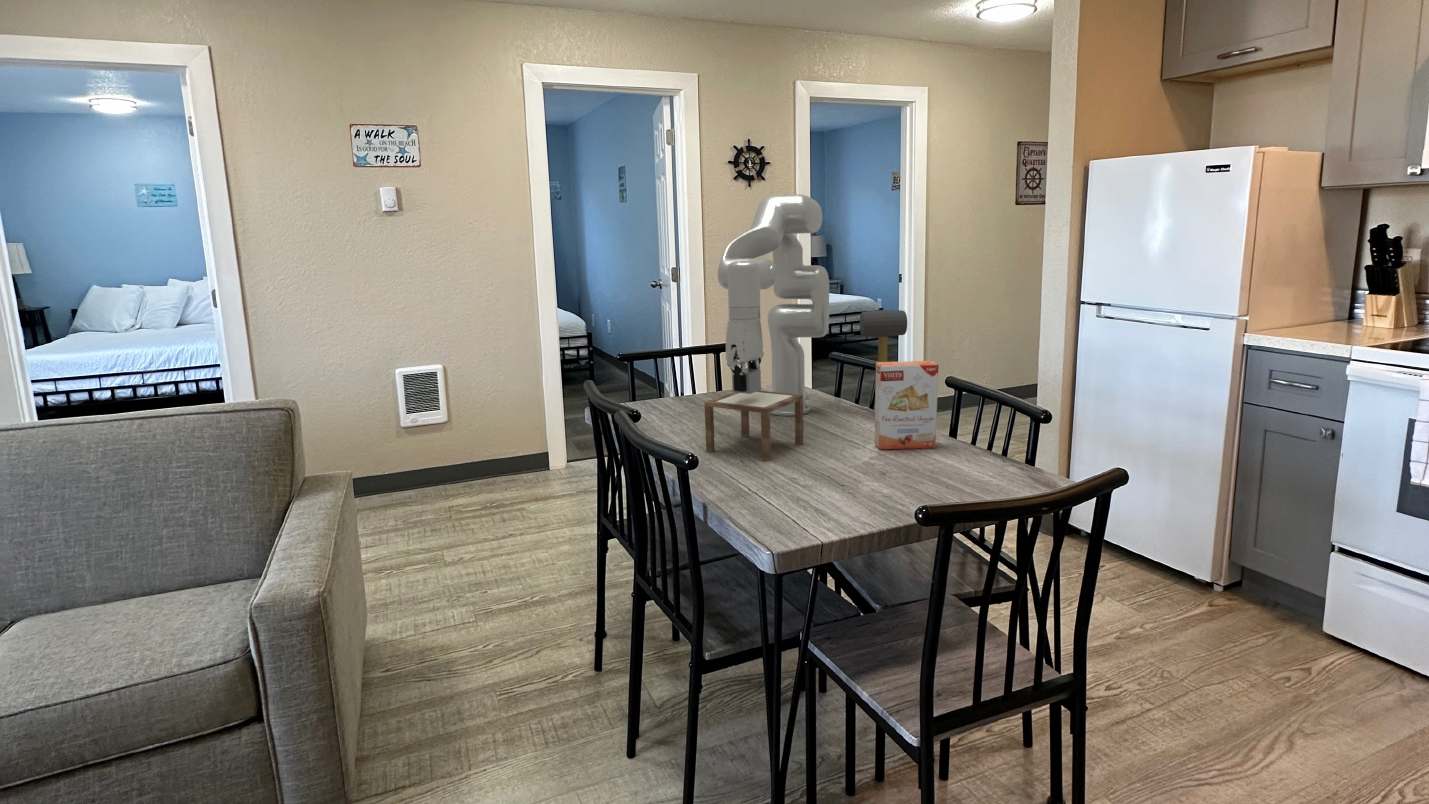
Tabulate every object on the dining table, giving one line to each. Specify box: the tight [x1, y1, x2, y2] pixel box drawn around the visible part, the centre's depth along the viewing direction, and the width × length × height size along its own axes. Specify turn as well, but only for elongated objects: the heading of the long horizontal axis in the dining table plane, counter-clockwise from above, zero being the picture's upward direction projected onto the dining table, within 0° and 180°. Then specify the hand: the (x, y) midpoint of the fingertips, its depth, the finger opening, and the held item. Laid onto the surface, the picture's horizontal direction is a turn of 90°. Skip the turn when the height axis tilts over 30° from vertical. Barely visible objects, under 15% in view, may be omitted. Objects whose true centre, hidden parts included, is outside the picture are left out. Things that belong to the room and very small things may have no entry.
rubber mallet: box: [859, 309, 908, 362], centre depth 228 cm, size 12×8×30 cm, turn 90°
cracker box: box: [874, 360, 939, 450], centre depth 197 cm, size 14×6×21 cm, turn 91°
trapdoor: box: [716, 392, 792, 407], centre depth 200 cm, size 14×14×1 cm
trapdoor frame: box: [704, 390, 804, 462], centre depth 201 cm, size 18×18×12 cm
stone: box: [731, 367, 762, 394], centre depth 196 cm, size 5×5×5 cm
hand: (746, 387), depth 197 cm, fingers closed on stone, 5 cm apart
